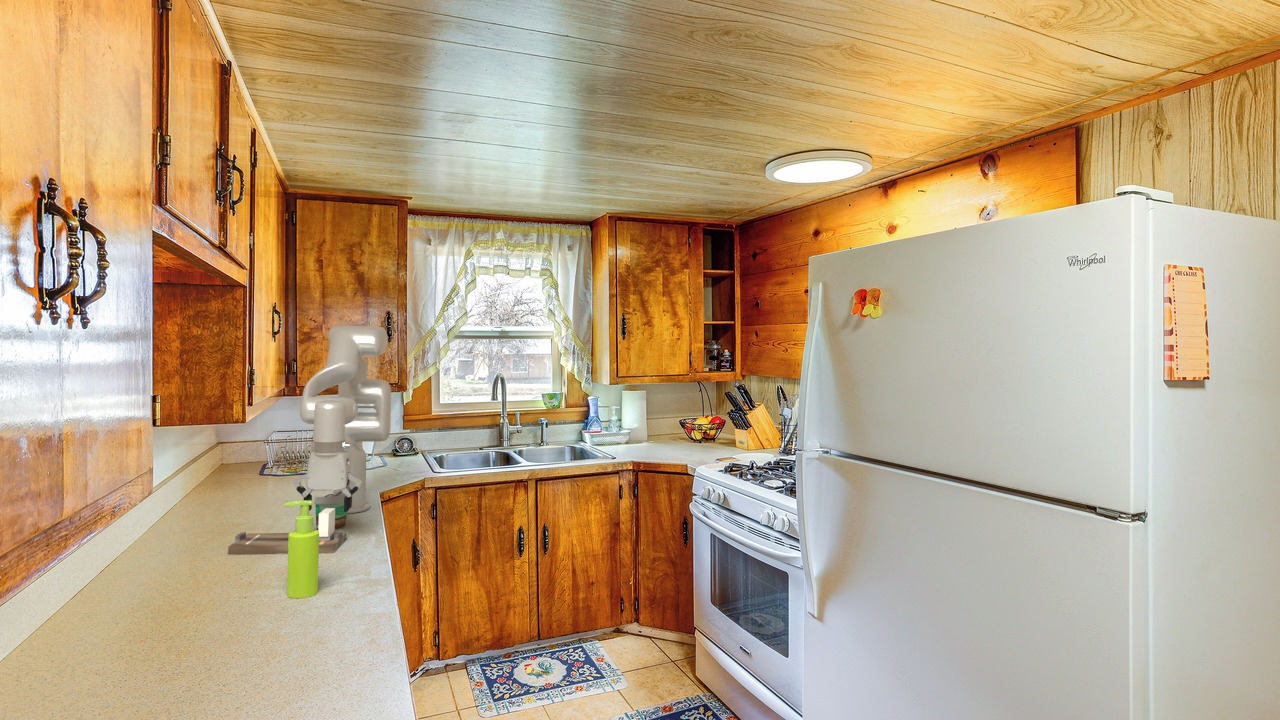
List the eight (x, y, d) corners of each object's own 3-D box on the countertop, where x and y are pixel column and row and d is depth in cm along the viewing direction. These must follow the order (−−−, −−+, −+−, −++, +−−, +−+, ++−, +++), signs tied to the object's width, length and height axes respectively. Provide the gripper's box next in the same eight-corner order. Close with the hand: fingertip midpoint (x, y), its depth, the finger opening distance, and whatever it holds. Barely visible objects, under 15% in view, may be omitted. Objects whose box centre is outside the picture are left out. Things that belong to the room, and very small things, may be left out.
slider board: (247, 540, 179) (248, 528, 179) (346, 539, 183) (346, 526, 183) (228, 554, 167) (228, 540, 167) (333, 552, 171) (334, 539, 171)
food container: (332, 533, 188) (333, 498, 188) (312, 531, 189) (313, 496, 189) (358, 523, 200) (359, 490, 200) (340, 521, 201) (341, 488, 201)
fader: (323, 534, 179) (324, 508, 179) (335, 534, 180) (336, 508, 180) (316, 541, 173) (317, 513, 173) (329, 541, 174) (329, 513, 174)
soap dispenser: (282, 590, 144) (285, 499, 144) (318, 587, 147) (320, 497, 146) (280, 600, 139) (282, 505, 138) (316, 596, 141) (319, 503, 141)
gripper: (366, 445, 181) (365, 507, 182) (298, 444, 179) (297, 507, 179) (359, 450, 174) (358, 514, 175) (289, 449, 171) (287, 515, 172)
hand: (327, 510), depth 177 cm, fingers open, 9 cm apart
